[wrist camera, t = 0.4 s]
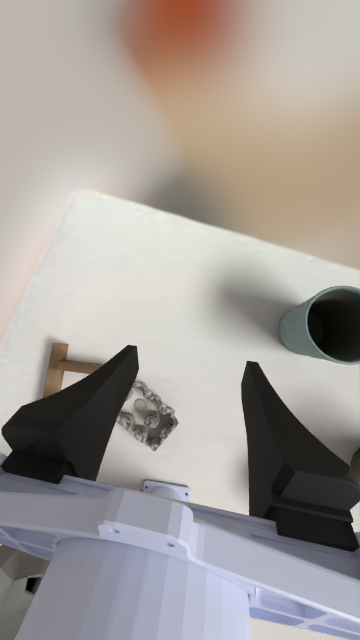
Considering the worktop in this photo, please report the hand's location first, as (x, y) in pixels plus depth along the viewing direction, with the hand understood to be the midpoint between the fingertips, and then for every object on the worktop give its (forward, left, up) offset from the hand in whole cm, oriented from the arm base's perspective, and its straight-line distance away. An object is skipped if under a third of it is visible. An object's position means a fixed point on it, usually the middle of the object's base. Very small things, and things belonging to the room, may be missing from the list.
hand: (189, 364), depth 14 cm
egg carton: (-11, +7, -27) cm, 30 cm away
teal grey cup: (+6, -19, -26) cm, 33 cm away
